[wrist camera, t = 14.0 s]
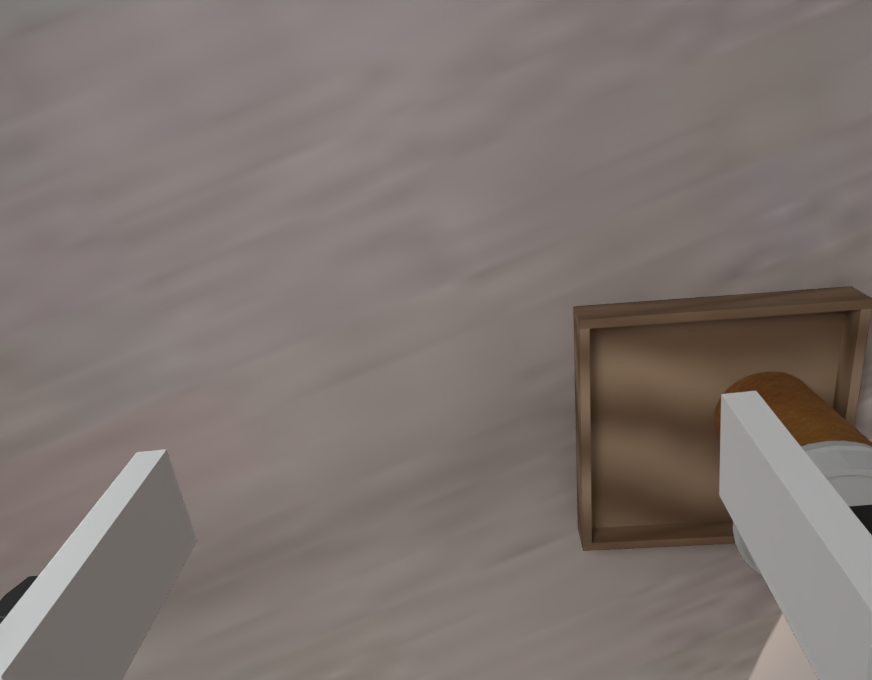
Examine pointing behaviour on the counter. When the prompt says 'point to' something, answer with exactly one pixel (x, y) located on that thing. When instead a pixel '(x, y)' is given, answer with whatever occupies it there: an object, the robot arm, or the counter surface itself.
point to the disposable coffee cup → (812, 438)
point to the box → (691, 400)
